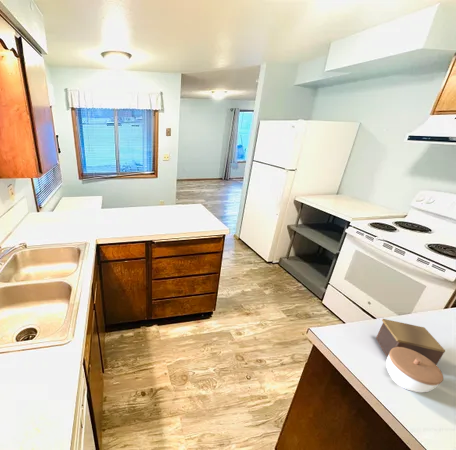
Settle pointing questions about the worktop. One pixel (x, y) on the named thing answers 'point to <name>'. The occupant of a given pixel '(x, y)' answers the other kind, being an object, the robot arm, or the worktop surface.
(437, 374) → the trinket box
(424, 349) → the brown hinged box
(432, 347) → the gold box lid
